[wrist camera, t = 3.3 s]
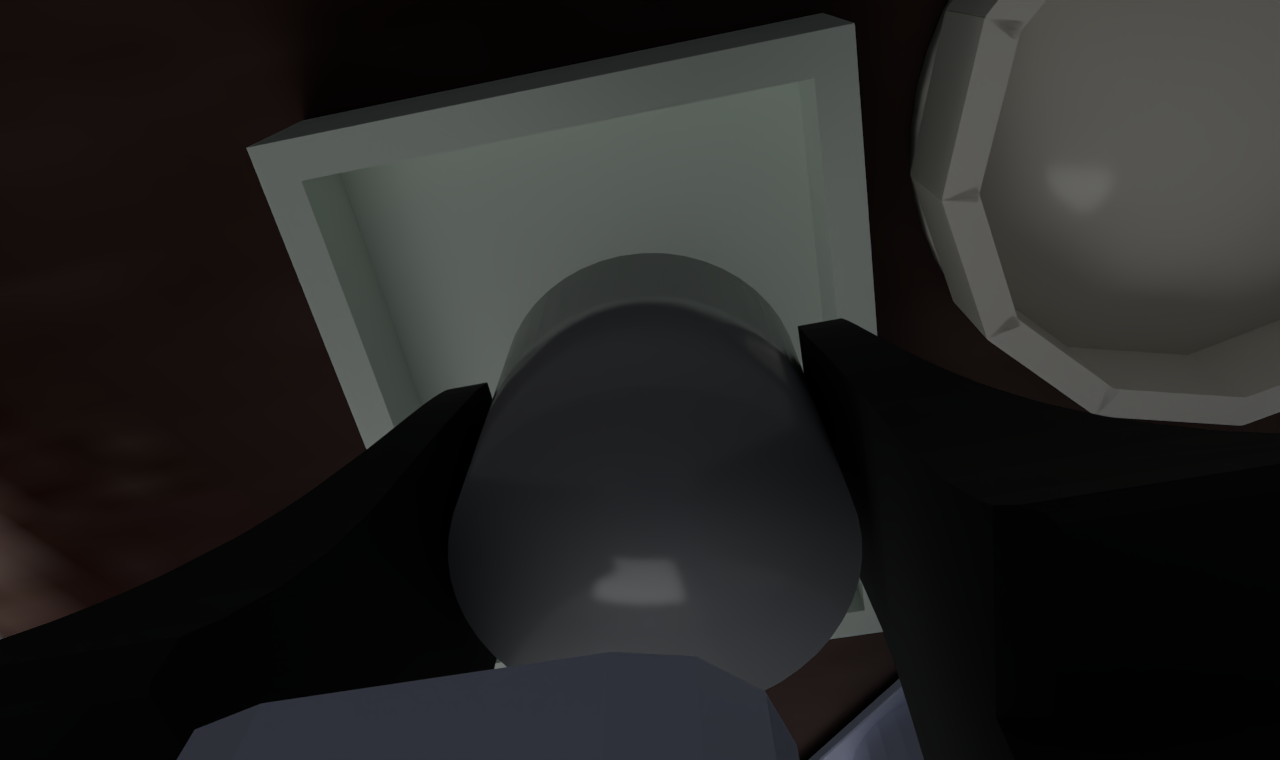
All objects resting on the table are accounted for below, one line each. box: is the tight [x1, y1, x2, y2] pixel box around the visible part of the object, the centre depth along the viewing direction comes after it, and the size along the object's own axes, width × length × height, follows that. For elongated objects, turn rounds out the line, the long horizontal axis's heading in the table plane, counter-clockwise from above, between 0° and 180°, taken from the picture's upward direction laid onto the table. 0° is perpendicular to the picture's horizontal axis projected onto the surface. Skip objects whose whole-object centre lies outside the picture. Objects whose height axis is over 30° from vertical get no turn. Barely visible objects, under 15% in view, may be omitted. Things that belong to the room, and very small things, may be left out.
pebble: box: [448, 253, 862, 691], centre depth 11 cm, size 4×4×4 cm
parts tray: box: [247, 13, 883, 669], centre depth 20 cm, size 15×12×3 cm
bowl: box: [910, 0, 1280, 426], centre depth 17 cm, size 12×12×3 cm
